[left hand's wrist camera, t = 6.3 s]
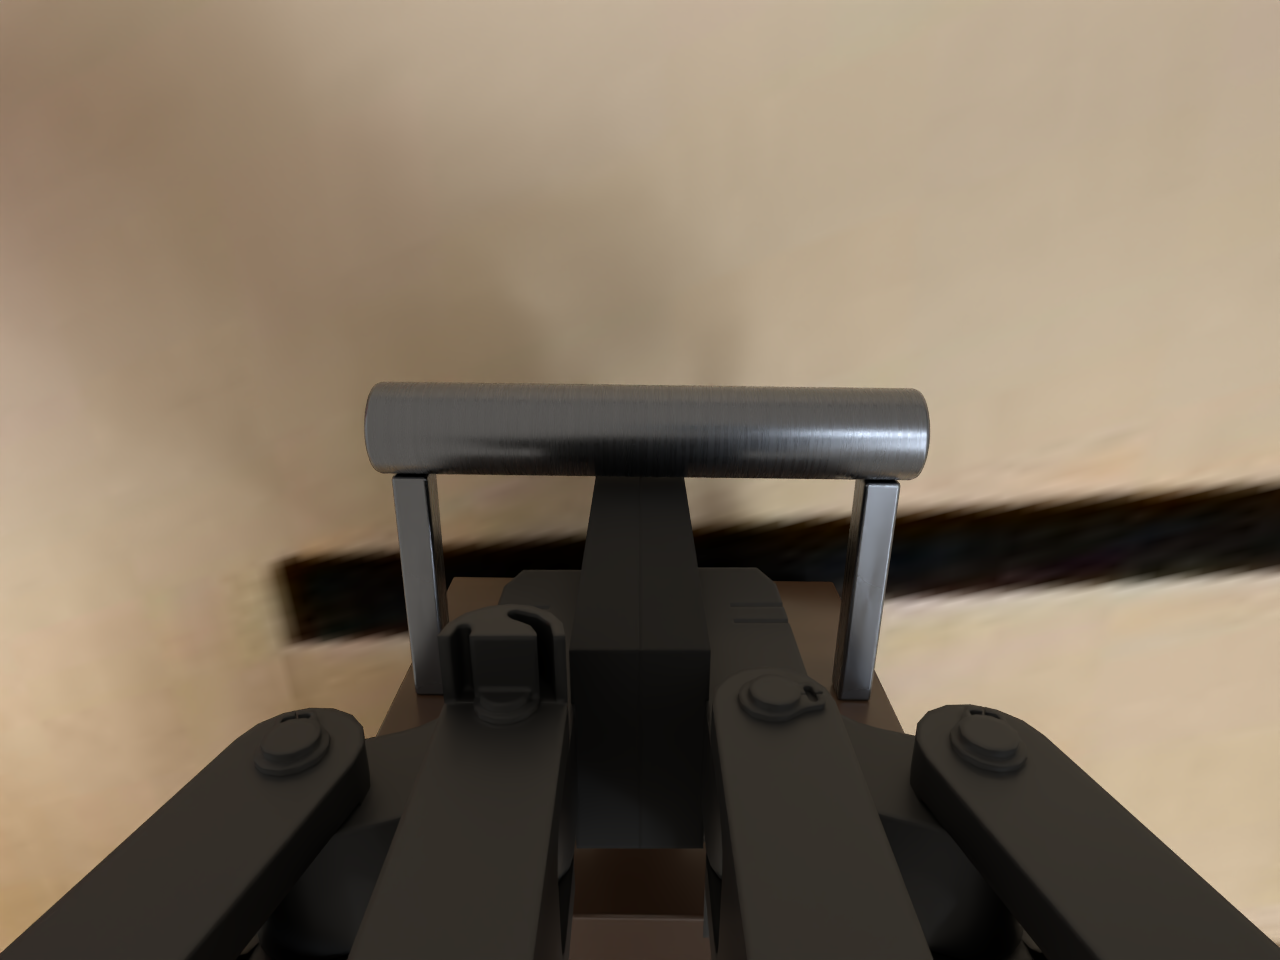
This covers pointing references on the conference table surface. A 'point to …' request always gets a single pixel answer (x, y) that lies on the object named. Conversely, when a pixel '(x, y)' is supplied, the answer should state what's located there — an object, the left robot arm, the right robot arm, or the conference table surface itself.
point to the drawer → (650, 447)
